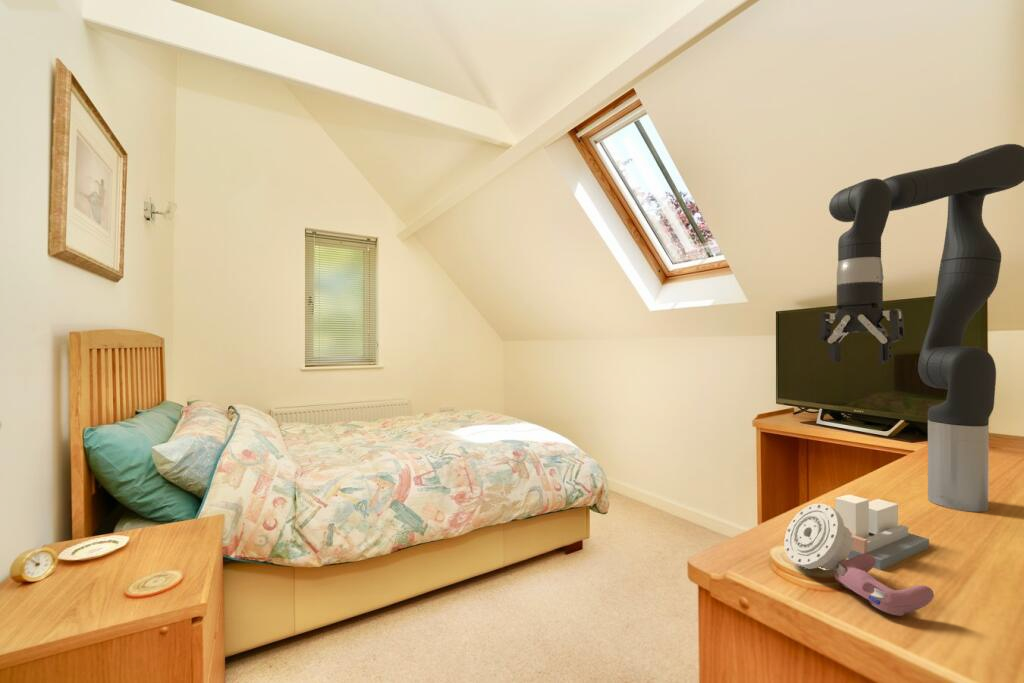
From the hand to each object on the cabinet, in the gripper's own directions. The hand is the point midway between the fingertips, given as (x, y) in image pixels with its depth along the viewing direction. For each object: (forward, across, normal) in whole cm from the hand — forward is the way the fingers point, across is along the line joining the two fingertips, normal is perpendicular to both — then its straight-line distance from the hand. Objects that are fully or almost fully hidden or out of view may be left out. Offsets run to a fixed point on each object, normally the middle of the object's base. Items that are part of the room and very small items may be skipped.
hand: (859, 362), depth 94 cm
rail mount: (+30, +9, -17) cm, 36 cm away
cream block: (+26, +9, -9) cm, 29 cm away
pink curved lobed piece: (+28, +20, -32) cm, 47 cm away
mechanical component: (+30, +7, -34) cm, 46 cm away
